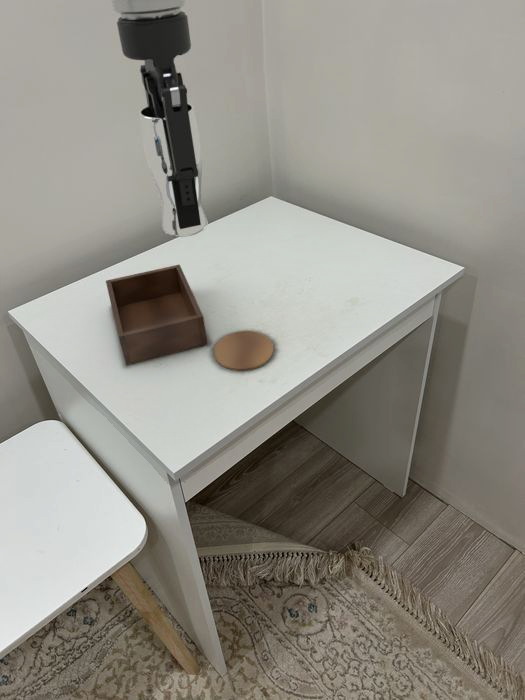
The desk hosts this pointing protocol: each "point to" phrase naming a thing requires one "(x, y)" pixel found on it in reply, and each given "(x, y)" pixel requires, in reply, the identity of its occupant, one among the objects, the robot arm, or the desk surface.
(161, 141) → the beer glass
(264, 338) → the coaster
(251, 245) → the desk surface
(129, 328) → the crate
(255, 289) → the desk surface
